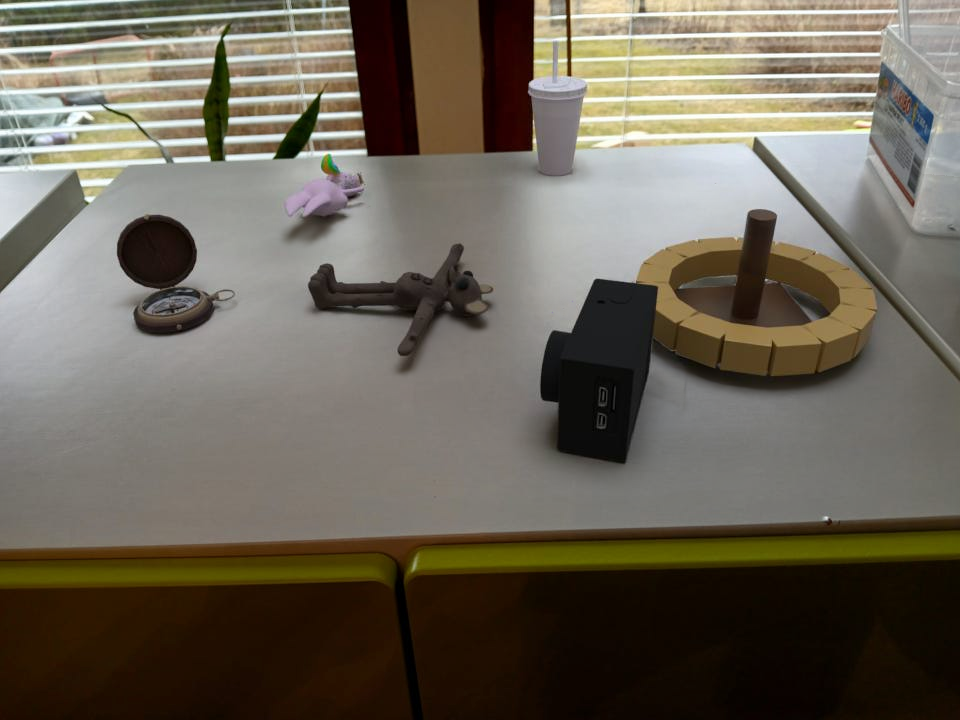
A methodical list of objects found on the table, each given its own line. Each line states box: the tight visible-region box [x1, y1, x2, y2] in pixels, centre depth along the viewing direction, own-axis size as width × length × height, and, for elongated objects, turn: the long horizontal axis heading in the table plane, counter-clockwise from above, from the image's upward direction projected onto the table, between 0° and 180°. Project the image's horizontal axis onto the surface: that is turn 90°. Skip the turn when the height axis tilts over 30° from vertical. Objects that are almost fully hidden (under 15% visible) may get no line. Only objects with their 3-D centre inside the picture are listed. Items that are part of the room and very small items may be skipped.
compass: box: [116, 213, 236, 334], centre depth 64 cm, size 8×8×7 cm
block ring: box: [635, 236, 878, 377], centre depth 59 cm, size 17×17×2 cm
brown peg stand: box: [674, 208, 813, 328], centre depth 58 cm, size 9×9×9 cm
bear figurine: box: [307, 242, 494, 357], centre depth 64 cm, size 18×4×14 cm
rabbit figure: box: [284, 153, 366, 218], centre depth 80 cm, size 6×6×15 cm
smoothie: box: [527, 40, 588, 177], centre depth 87 cm, size 6×6×14 cm
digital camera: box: [539, 278, 658, 464], centre depth 51 cm, size 10×5×7 cm, turn 162°
